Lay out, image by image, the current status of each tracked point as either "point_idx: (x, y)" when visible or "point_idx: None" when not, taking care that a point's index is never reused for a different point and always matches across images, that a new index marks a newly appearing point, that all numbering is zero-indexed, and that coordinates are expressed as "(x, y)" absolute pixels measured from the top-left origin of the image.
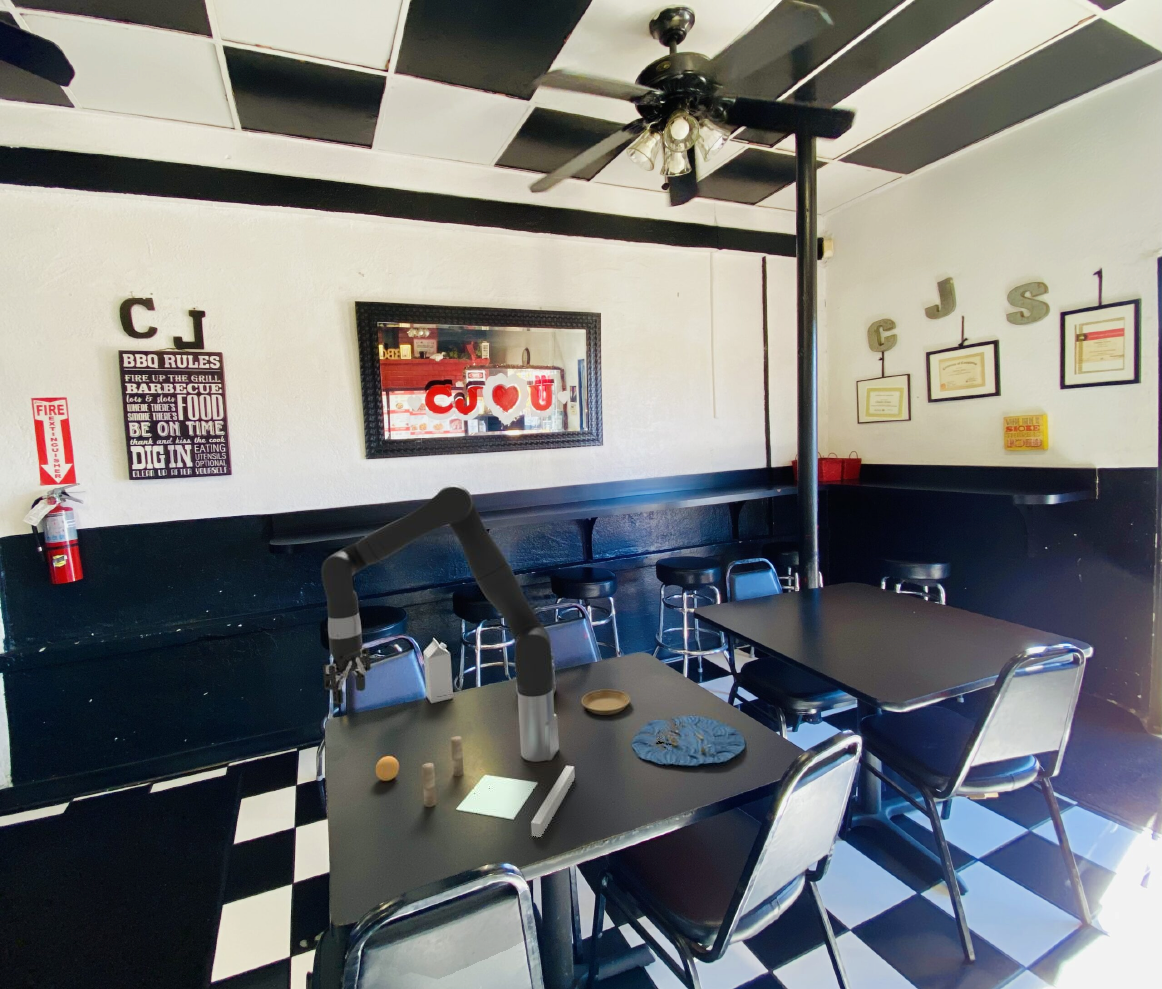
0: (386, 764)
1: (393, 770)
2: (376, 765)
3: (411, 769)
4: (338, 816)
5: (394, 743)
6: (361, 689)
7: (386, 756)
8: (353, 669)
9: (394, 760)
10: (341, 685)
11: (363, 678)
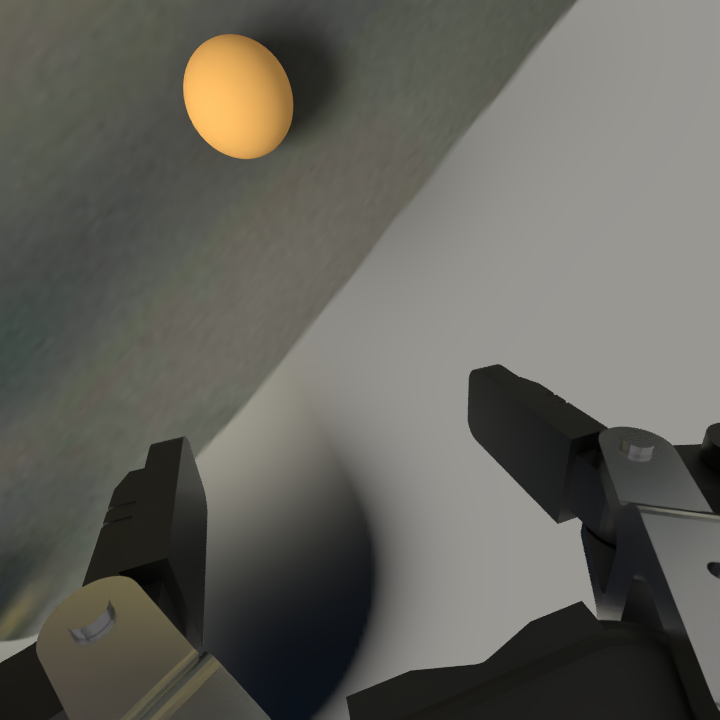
0: (270, 66)
1: (250, 38)
2: (274, 142)
3: (122, 44)
4: (471, 124)
5: (3, 308)
6: (189, 459)
7: (228, 108)
8: (438, 716)
9: (220, 49)
10: (627, 459)
11: (146, 539)
